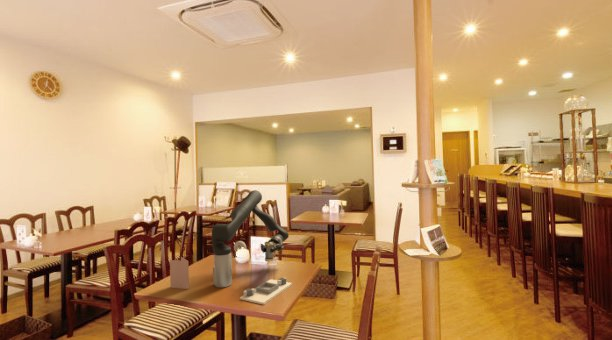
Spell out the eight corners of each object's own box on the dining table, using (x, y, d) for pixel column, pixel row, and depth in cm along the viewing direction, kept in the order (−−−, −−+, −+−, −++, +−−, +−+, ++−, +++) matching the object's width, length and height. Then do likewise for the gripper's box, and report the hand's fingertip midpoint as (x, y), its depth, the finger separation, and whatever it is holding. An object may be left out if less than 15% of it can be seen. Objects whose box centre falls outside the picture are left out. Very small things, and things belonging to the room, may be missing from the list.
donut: (233, 254, 224) (232, 241, 224) (235, 253, 227) (235, 240, 227) (244, 255, 220) (244, 241, 220) (247, 254, 224) (247, 240, 224)
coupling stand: (240, 299, 146) (240, 291, 146) (270, 280, 169) (270, 274, 169) (263, 304, 140) (263, 297, 140) (292, 284, 163) (291, 278, 163)
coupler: (263, 260, 167) (262, 243, 167) (268, 258, 171) (267, 241, 171) (270, 262, 165) (270, 243, 165) (275, 259, 169) (274, 241, 169)
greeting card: (190, 288, 161) (190, 260, 161) (176, 292, 156) (175, 263, 156) (183, 282, 170) (182, 256, 169) (169, 286, 165) (168, 259, 165)
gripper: (263, 236, 183) (255, 244, 166) (286, 237, 181) (280, 244, 164) (263, 249, 183) (255, 257, 166) (286, 249, 181) (280, 257, 164)
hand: (267, 250), depth 165 cm, fingers closed on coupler, 4 cm apart
